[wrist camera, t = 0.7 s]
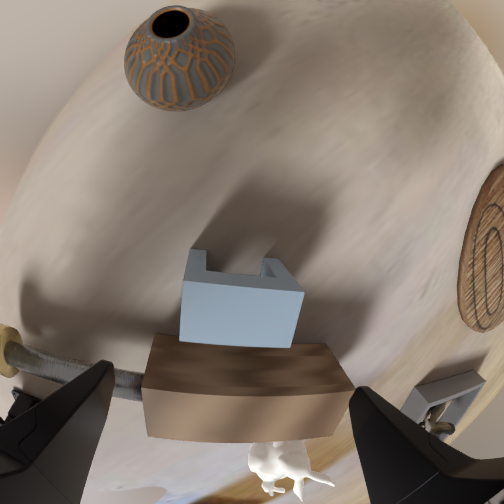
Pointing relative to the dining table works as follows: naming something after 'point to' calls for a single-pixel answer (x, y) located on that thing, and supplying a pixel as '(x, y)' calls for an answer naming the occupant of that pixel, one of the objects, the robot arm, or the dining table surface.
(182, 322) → the spacer
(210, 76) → the vase
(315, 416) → the block
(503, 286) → the trivet
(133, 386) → the shaft
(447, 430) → the eagle figurine
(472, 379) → the tray rim
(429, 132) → the dining table surface
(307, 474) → the rabbit figurine
